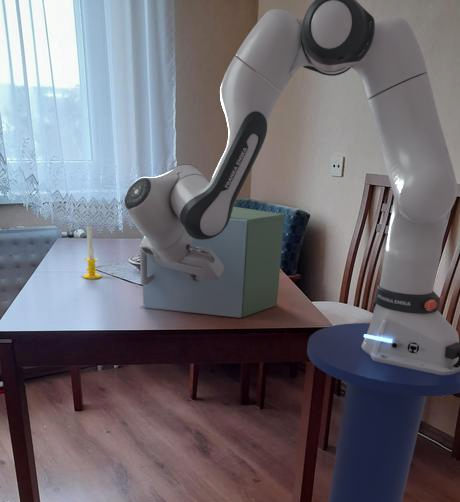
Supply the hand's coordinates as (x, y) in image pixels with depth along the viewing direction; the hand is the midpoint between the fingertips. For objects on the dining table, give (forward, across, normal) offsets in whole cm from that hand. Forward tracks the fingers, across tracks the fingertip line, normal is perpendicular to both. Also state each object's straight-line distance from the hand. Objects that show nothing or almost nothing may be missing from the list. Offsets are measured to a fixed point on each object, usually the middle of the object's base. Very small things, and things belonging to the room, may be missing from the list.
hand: (198, 279), depth 137 cm
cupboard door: (+5, +1, +8) cm, 9 cm away
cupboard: (+17, +4, -4) cm, 18 cm away
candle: (+12, +48, +2) cm, 49 cm away
